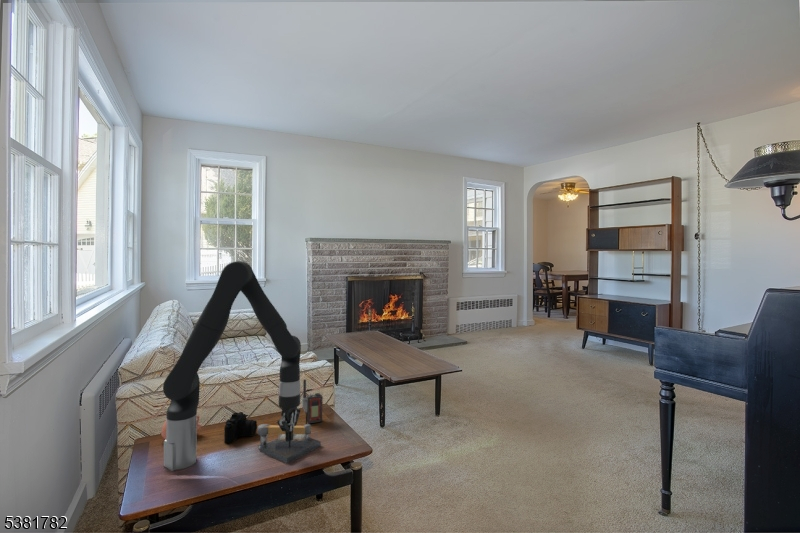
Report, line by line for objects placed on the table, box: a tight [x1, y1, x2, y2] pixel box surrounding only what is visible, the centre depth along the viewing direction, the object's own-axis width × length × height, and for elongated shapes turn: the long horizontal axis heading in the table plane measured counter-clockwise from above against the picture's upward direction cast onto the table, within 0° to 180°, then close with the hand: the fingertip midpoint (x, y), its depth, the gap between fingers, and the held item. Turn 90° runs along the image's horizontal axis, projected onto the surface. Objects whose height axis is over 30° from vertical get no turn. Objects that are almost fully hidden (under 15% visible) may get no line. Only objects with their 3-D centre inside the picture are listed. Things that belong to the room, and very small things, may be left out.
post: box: [257, 434, 268, 450], centre depth 151 cm, size 4×4×5 cm
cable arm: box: [257, 423, 312, 436], centre depth 151 cm, size 20×4×3 cm, turn 90°
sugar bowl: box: [160, 414, 202, 440], centre depth 160 cm, size 12×14×10 cm
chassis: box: [259, 434, 322, 464], centre depth 150 cm, size 16×15×4 cm
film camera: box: [223, 411, 258, 445], centre depth 161 cm, size 15×10×9 cm, turn 178°
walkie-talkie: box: [301, 379, 324, 425], centre depth 173 cm, size 9×4×20 cm, turn 113°
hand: (289, 440), depth 143 cm, fingers closed
